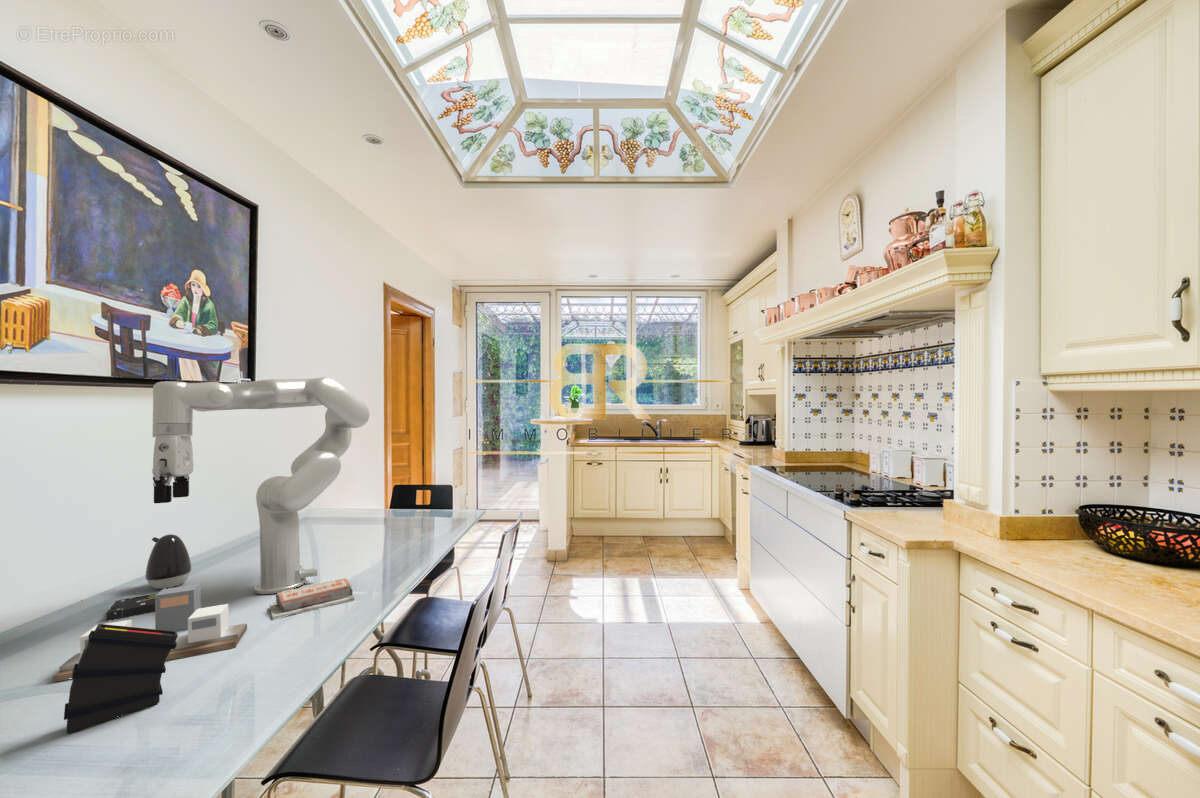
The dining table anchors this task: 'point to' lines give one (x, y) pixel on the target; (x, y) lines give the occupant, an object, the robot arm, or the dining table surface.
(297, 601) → the packaged product
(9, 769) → the dining table surface
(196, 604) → the block
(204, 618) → the block
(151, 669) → the black ridged block
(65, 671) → the rail board
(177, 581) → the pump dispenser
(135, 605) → the disk drive
